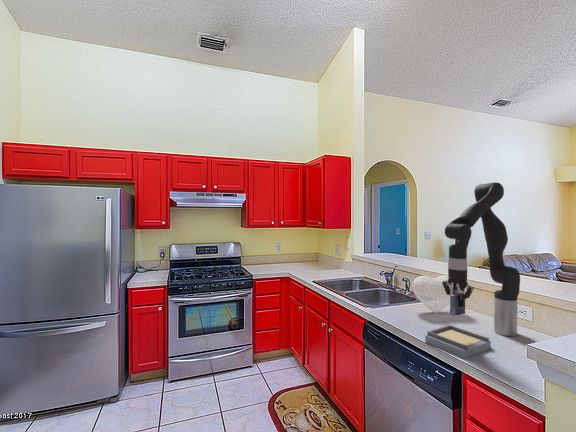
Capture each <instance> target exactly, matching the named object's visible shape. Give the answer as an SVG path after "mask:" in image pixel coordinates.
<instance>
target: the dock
mask: <svg viewBox="0 0 576 432" xmlns="http://www.w3.org/2000/svg"><path fill="white" fill-rule="evenodd" d="M424 338H425V340H424V341H425V343H427V344H429V345H432V346H434V347H436V348H439V349H442V350H443V351H446V352H448V353H450V354H454V355H455V356H457V357H460V358H463V359H466V358H469V357H471V356H475V355H476V354H478V353H481V352H483V351H487V350H488V349H490V348H492V342H491V340H490V338H489V337H486V336H484V335H481V334H478V333H475V332H472V331H469V330H465V329H463V328H460V327H456V326H453V325H451V324H449V325H448V324H447V325H445V326H441V327H438V328H435V329H432V330H428V331H427V332H426V335H425V336H424Z"/></svg>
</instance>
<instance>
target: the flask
mask: <svg viewBox="0 0 576 432" xmlns="http://www.w3.org/2000/svg"><path fill="white" fill-rule="evenodd" d="M454 291H456V290H454ZM449 298H450V303H449V315H450V316H451V317H454V316H455V317H457V316H460V315H464V314H466V304H465V305H464V306H463V307H459V299H460V298H459V294H458V291H456V292H455V294H452V295H450V297H449Z"/></svg>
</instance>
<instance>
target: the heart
mask: <svg viewBox="0 0 576 432" xmlns="http://www.w3.org/2000/svg"><path fill="white" fill-rule="evenodd" d="M448 279H449V277H448V274H442V275H439V276H436V277H432V276H429V275H419V276H418V277H417V276H416V277H415V278H414V279H413V281H412V284H411V285H412V287H411V289H412V291H413V293H414V295H415V297H416V298H417V299H418V300H419V301H420V302H421V303H422V304H423V305H424V306H425V307H426V308H428V310H430V311H431V312H432V313H436V314H438V313H439V312H441V311H443V310H444V309H445V308H446V307H448V305H450V295H447V294H446V291H445V289H444V286H443V284H442V282H444V281H448ZM449 287H450V288H451V286H450V285H449Z"/></svg>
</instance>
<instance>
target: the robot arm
mask: <svg viewBox="0 0 576 432" xmlns="http://www.w3.org/2000/svg"><path fill="white" fill-rule="evenodd" d="M473 193H474V198H475V202H474V203H473V204H471V205H469V206H468V207H466V209H464V210H463V212H462V213H461V214H460V215H459V216H458V217H457V218H454V219H453V220H452V221H450V222H449V223H448V224H447V225H446V226H445V228H444V235H445V237H446V238H448V239H450V240H458V242H457V243H456V244H450V245H449V247H448V261H447V272H448V273H447V275H448V277H449V279H447V280H448V281H447V280H445V281H444V280H443V282H442V281H441V282H442V284H443V285H442V286H444V289H445V291H446V294H445V295H452V294H455V292H456V291H458V294H459V298H460V299H459V307H463V306H464V305H465V306H466V299H470V296H471V295H472V293H473V292H474V290H475V287H474V286H471V285H469V284H468V281H467V280H468V259H467V258H468V257H467V256H468V252H467V251H468V246H469V243H470V240H471V238H472V227H474V226H475V224H476V223H477V222H478V221H479V220H480V219H481V223H482V228H483V233H484V239H485V242H486V249H487V254H488V264H489V273H490V278H491V280H492V281H493V282H495V283H497V284H501V286H502V287H501V289H498V290H494V295H493V296H494V297H493V300H494V301H493V302H494V303H493V305H494V307H493V308H494V311H493V313H494V316H493V317H494V318H493V322H494V323H493V325H494V327H493V328H494V330H493V332H495V333H496V334H499V335H501V336H506V337H516V336H518V297H519V294H520V285H521V275H520V271H519V270H518V269H517V268H515V267H513V266H509V265H505V261H504V251H505V249H506V247H507V245H508V240H509V237H508V233H507V227H506V225H505V223H503V221H502V220H501V219H500V218H499V217H498V215H496V214H495V213H494V212H493V210H492V207H494V205H496V204H497V203H498V202H499V201H501V199H502V198H503V197H504V194H505V190H504V186H503V184H502V183H500V182H489V183H488V182H487V183H483V184H482V183H480V184H477V185H476V186H475V188H474V191H473ZM449 285H450V286H451V288H450V287H449ZM444 289H443V290H444ZM454 290H456V291H454Z"/></svg>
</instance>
